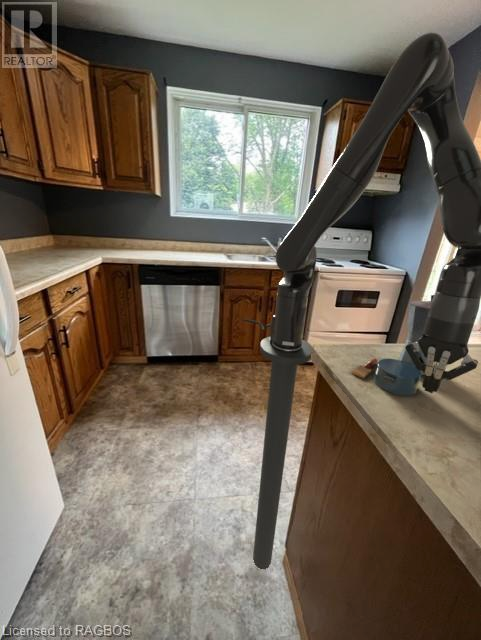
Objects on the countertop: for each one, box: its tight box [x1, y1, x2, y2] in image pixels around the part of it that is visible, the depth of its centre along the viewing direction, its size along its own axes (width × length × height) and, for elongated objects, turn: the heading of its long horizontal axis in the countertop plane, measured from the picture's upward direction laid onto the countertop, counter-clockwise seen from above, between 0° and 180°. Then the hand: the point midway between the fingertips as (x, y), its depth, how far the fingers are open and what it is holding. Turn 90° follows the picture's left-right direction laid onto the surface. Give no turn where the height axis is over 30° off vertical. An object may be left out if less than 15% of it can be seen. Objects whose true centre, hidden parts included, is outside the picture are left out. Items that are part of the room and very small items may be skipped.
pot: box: [373, 358, 422, 397], centre depth 64 cm, size 9×12×4 cm
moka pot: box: [397, 294, 439, 376], centre depth 69 cm, size 10×15×20 cm, turn 15°
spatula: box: [351, 357, 379, 379], centre depth 71 cm, size 11×3×1 cm, turn 133°
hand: (429, 390), depth 60 cm, fingers closed
